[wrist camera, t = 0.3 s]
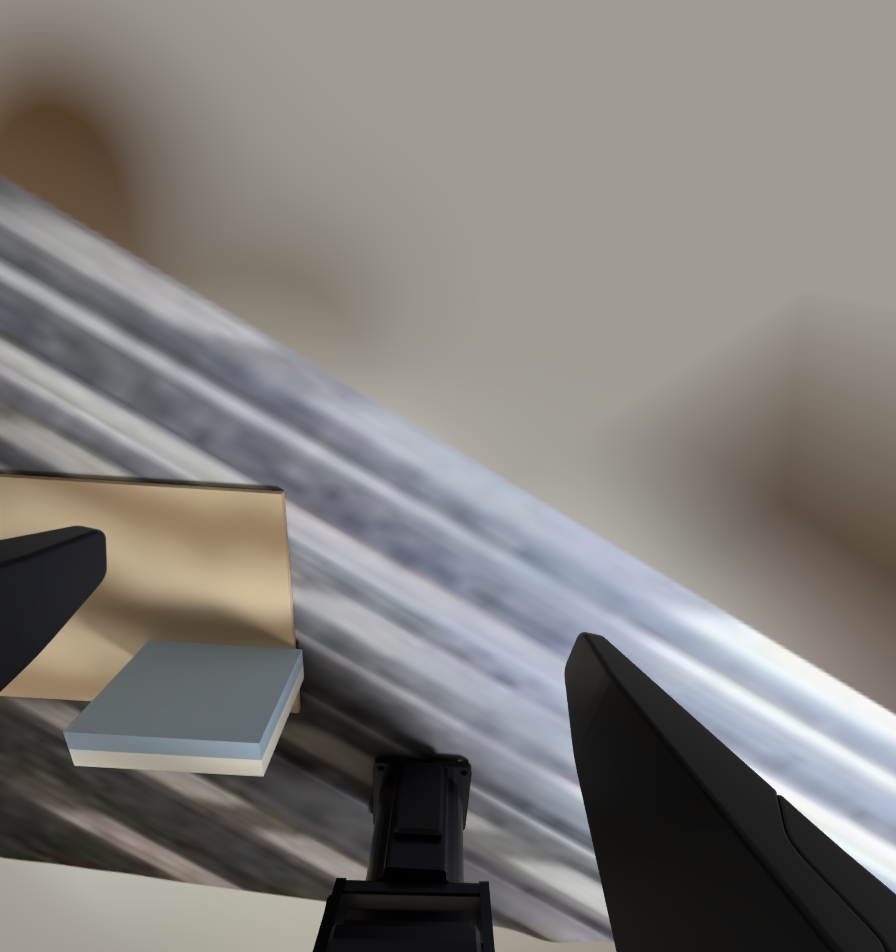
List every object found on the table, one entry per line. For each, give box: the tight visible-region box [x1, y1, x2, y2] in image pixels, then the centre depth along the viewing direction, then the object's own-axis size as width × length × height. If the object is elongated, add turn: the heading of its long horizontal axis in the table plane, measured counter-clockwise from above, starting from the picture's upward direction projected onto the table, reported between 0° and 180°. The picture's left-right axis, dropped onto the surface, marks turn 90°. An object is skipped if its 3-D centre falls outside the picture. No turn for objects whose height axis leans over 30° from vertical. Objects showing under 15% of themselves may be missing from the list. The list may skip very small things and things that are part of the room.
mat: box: [0, 474, 301, 713], centre depth 25 cm, size 15×22×1 cm
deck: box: [63, 640, 304, 776], centre depth 23 cm, size 2×9×6 cm, turn 87°
